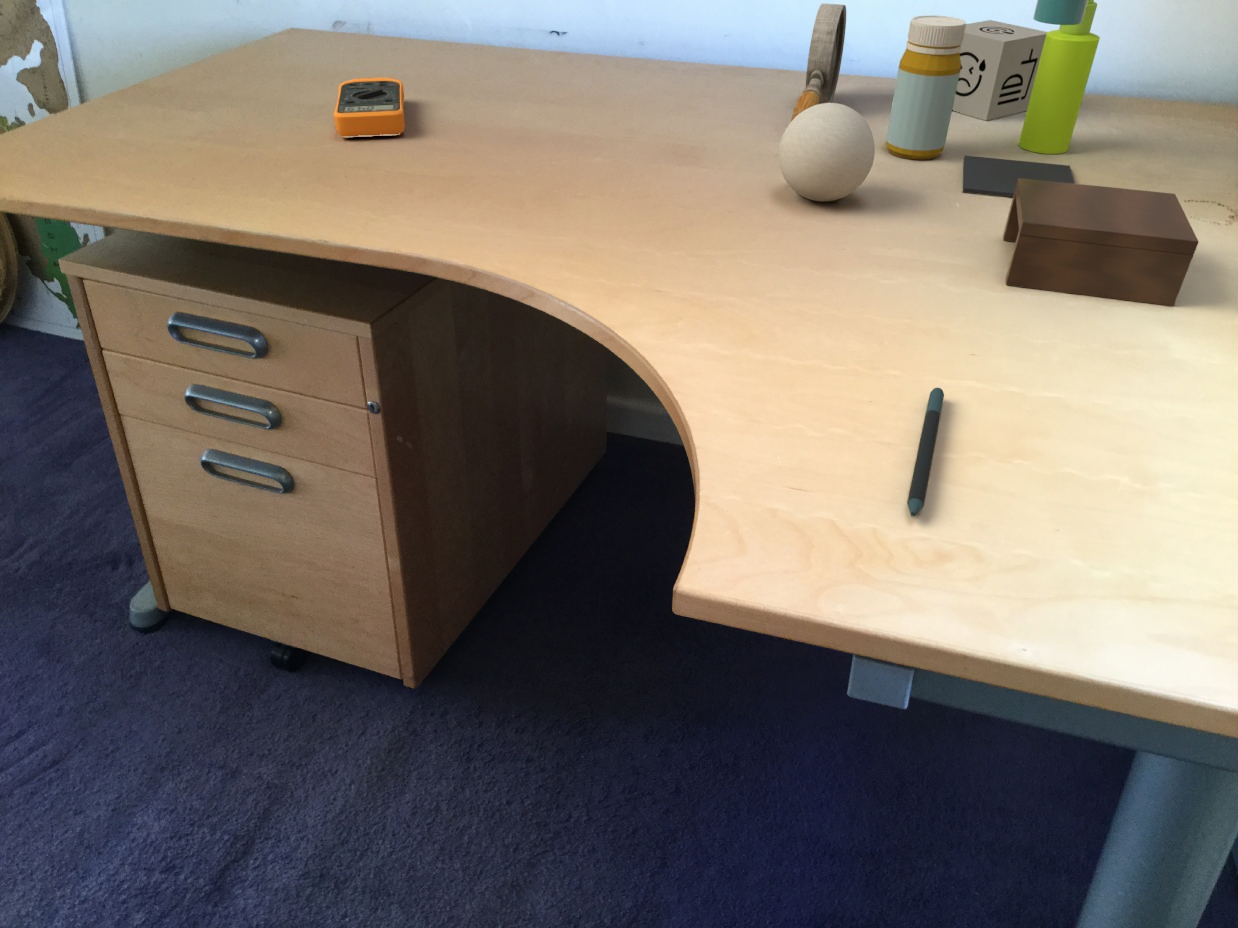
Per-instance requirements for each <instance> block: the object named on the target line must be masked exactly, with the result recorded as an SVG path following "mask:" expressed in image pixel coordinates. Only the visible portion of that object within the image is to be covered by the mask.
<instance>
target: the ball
mask: <svg viewBox="0 0 1238 928" xmlns="http://www.w3.org/2000/svg"><path fill="white" fill-rule="evenodd" d="M790 122H791V123H789V124H788V125H787V127H786V128H785V130H784V132H783V134H782V136H781V140H780V144H779V146H778V147H779V148H778V163H779V167H780V171H781V174H782V177H783V178H784V180H785V182H786V183H787V185H788V186H789V187H790V188H791V189H792V190H793V191H795V193H797V194H798V195H799V196H801V197H803V198H804V199H807V200H811V201H813V202H814V201H815V202H833V201H836V200H840V199H842V198H844V197H847V196H849V195H850V194H852V193H853V192H854V191H856V190H857V189H858V188H859V187H860V186H861V185H862V184H863V182H865V180H866V178H867V177H868V176H869V173H870V172H871V169H872V166H873V163H874V159H875V154H876V153H875V151H876V149H875V147H876V146H875V145H876V144H875V138H874V134H873V132H872V129H871V127H870V126H869V123H868V122H867V120H866V119H865V118H864V117H863V115H861V114H860V113H859V112H858V111H856V110H855V109H854V108H852V107H850V106H848V105H845V104H842V103H837V102H832V103H823V104H818V105H815V106H812V107H810V108H808V109H806V110H804V111H803V112H801V113H800V114H799V115H797V116H796V117H795V118H794V119H793V120H792V121H791V120H790Z"/></svg>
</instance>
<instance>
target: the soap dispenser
mask: <svg viewBox="0 0 1238 928" xmlns="http://www.w3.org/2000/svg"><path fill="white" fill-rule="evenodd" d="M1097 7H1098V3H1097V2H1095V0H1088V2H1087V6H1086V9H1085V13H1084V17H1083V20H1082V23H1080V24H1076V25H1059V28H1058V29H1054V30H1050V31H1046V32H1047V34H1046V38H1045V42H1044V45H1043V49H1042V53H1041V57H1040V61H1039V65H1038V69H1037V73H1036V77H1035V81H1034V85H1033V89H1032V93H1031V97H1030V101H1029V105H1028V109H1027V111H1025V112H1026V113H1025V117H1024V121H1023V125H1022V129H1021V133H1020V137H1019V140H1018V146H1019V147H1020V148H1021V149H1023V150H1025V151H1028V152H1032V153H1036V154H1043V155H1060V154H1064V153H1066V152H1068V150H1069V148H1070V144H1071V140H1072V137H1073V134H1074V130H1075V128H1076V127H1075V126H1076V123H1077V119H1078V116H1079V113H1080V108H1081V105H1082V102H1083V98H1084V96H1085V95H1084V94H1085V91H1086V88H1087V85H1088V80H1089V77H1090V74H1091V70H1092V67H1093V64H1094V59H1095V57H1096V53H1097V49H1098V45H1099V42H1100V39H1101V37H1100V36H1099V35H1097V34H1095V33H1093V32H1091V29H1092V25H1093V22H1094V18H1095V14H1096V12H1097Z"/></svg>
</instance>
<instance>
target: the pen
mask: <svg viewBox="0 0 1238 928" xmlns="http://www.w3.org/2000/svg"><path fill="white" fill-rule="evenodd" d="M944 398H945V393H944V391H943V389H942V388H940V387H934V388H933V389H932V390H931V391H930V392H929V396H928V401H927V405H926V410H925V416H924V420H923V425H922V429H921V434H920V440H919V444H918V449H917V453H916V459H915V462H914V463H915V464H914V467H913V473H912V477H911V482H910V483H911V484H910V487H909V492H908V497H907V501H906V503H907V508H908V511H909V515H910V516H911V518H912V519H914V518H915V517H916V516H917V515H918V514H919V513H920V512H921V510H922V509H923V508H924V506H925V502H926V496H927V492H928V491H927V490H928V486H929V485H928V484H929V480H930V475H931V470H932V464H933V458H934V452H935V447H936V442H937V437H938V431H939V425H940V420H941V415H942V409H943V406H944V405H943V403H944Z"/></svg>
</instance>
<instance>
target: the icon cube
mask: <svg viewBox="0 0 1238 928" xmlns="http://www.w3.org/2000/svg"><path fill="white" fill-rule="evenodd" d="M1047 32H1048V31H1045V30H1041V29H1040V30H1039V29H1035V28H1031V27H1026V26H1021V25H1016V24H1011V23H1007V22H1002V21H997V20H993V19H988V20H987V19H986V20H982V21H976V22H971V23H966V27H965V32H964V37H963V41H962V43H961V50H960V52H959V53H960V61H961V69H960V75H959V80H958V84H957V89H956V94H955V99H954V104H953V108H952V110H953V111H952V112H955V111H956V113H959V112H960V113H959V114H962V115H966V116H969V117H972V118H975V119H979V120H983V121H986V122H987V121H991V120H995V119H999V118H1004V117H1006V116H1007V117H1008V116H1011V115H1015V114H1019V113H1023V112H1027V109H1028V105H1029V101H1030V97H1031V93H1032V89H1033V85H1034V81H1035V77H1036V73H1037V69H1038V65H1039V61H1040V57H1041V53H1042V49H1043V45H1044V42H1045V38H1046V34H1047Z"/></svg>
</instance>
